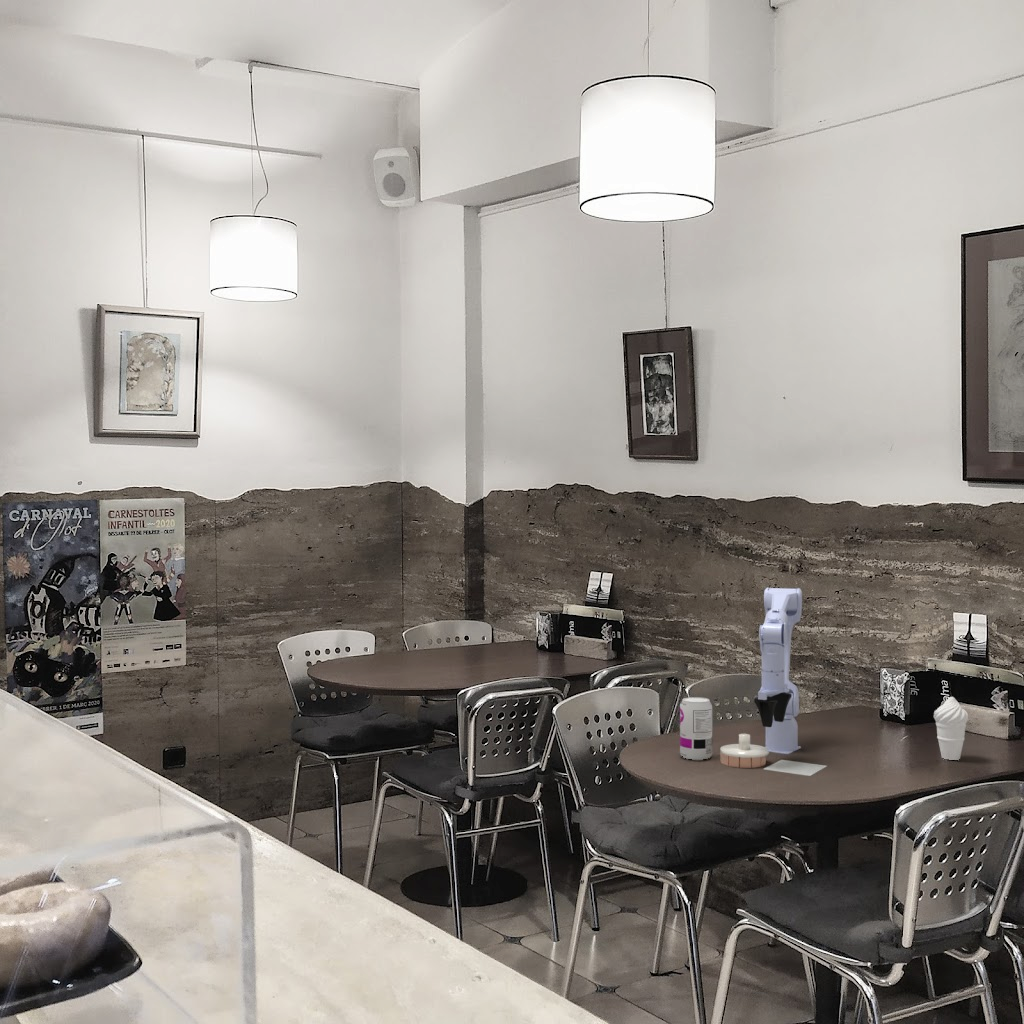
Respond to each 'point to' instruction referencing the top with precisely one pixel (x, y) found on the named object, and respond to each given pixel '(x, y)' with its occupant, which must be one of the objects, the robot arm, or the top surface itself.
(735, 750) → the lid
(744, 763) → the bowl
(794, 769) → the mat
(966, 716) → the soft serve ice cream cone
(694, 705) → the supplement can
